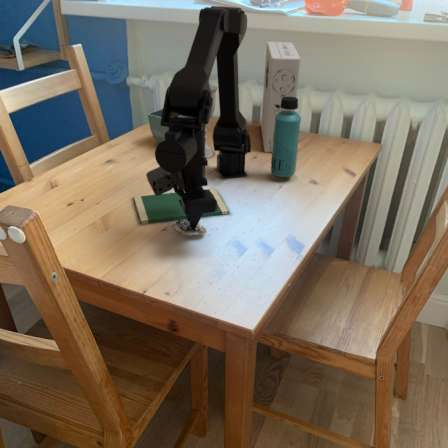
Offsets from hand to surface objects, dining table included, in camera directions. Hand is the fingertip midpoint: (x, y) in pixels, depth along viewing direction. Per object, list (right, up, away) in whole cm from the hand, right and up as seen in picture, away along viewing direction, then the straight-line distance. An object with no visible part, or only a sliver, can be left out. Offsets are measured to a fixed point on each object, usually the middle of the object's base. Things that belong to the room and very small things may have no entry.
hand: (191, 224), depth 102 cm
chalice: (+1, +25, +36) cm, 44 cm away
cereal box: (+22, +33, +47) cm, 61 cm away
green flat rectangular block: (-3, +6, +10) cm, 12 cm away
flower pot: (-9, +30, +42) cm, 52 cm away
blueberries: (0, -1, +1) cm, 1 cm away
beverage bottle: (+22, +16, +24) cm, 36 cm away
